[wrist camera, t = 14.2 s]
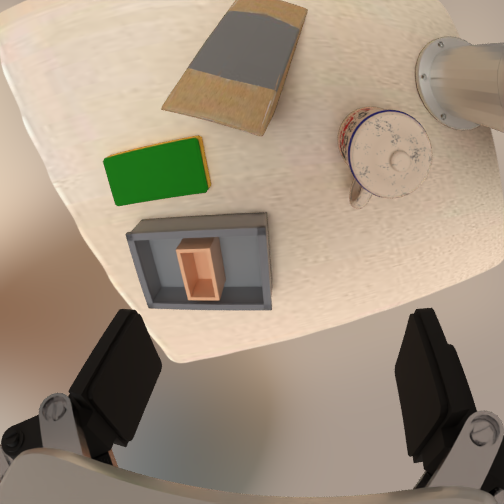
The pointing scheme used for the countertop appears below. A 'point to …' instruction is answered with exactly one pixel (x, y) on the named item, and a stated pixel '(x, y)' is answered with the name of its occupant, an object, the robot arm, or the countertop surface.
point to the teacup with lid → (384, 153)
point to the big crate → (233, 254)
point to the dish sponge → (158, 171)
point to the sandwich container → (241, 66)
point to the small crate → (201, 267)
